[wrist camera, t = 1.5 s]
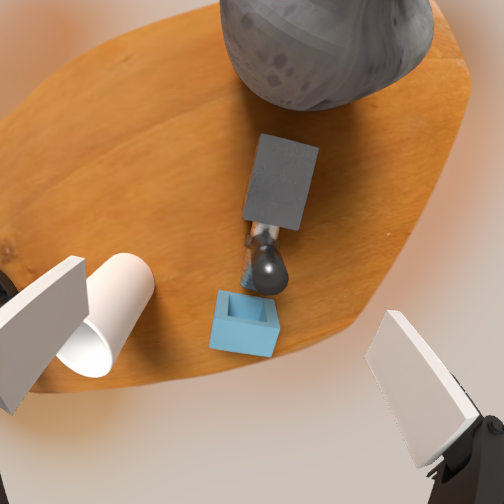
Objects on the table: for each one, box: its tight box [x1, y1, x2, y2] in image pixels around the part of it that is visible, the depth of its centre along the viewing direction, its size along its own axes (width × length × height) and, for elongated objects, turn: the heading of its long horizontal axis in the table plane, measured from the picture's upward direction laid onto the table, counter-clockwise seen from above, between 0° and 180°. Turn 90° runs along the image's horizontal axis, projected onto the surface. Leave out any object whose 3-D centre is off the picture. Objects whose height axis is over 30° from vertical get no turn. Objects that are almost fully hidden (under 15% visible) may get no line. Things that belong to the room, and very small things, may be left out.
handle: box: [239, 221, 289, 295], centre depth 28 cm, size 17×4×12 cm, turn 168°
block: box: [242, 133, 319, 231], centre depth 30 cm, size 9×6×6 cm, turn 168°
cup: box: [56, 253, 155, 377], centre depth 29 cm, size 8×8×16 cm
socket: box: [209, 290, 280, 357], centre depth 35 cm, size 4×8×7 cm, turn 77°
